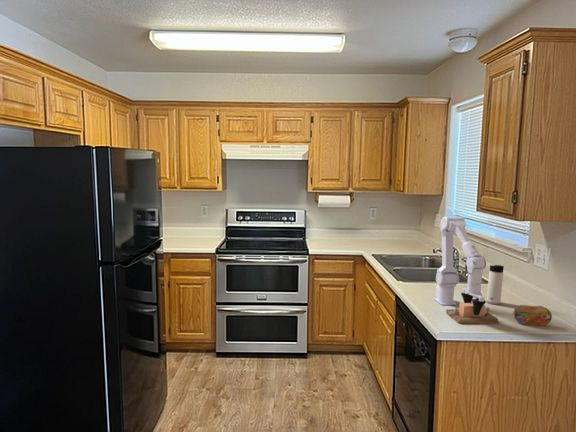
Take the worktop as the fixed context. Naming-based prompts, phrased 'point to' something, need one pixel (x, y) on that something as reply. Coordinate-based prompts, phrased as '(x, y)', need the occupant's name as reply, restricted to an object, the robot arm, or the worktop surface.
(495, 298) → the travel mug
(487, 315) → the board
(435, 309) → the worktop surface
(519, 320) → the tin
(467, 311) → the bar
